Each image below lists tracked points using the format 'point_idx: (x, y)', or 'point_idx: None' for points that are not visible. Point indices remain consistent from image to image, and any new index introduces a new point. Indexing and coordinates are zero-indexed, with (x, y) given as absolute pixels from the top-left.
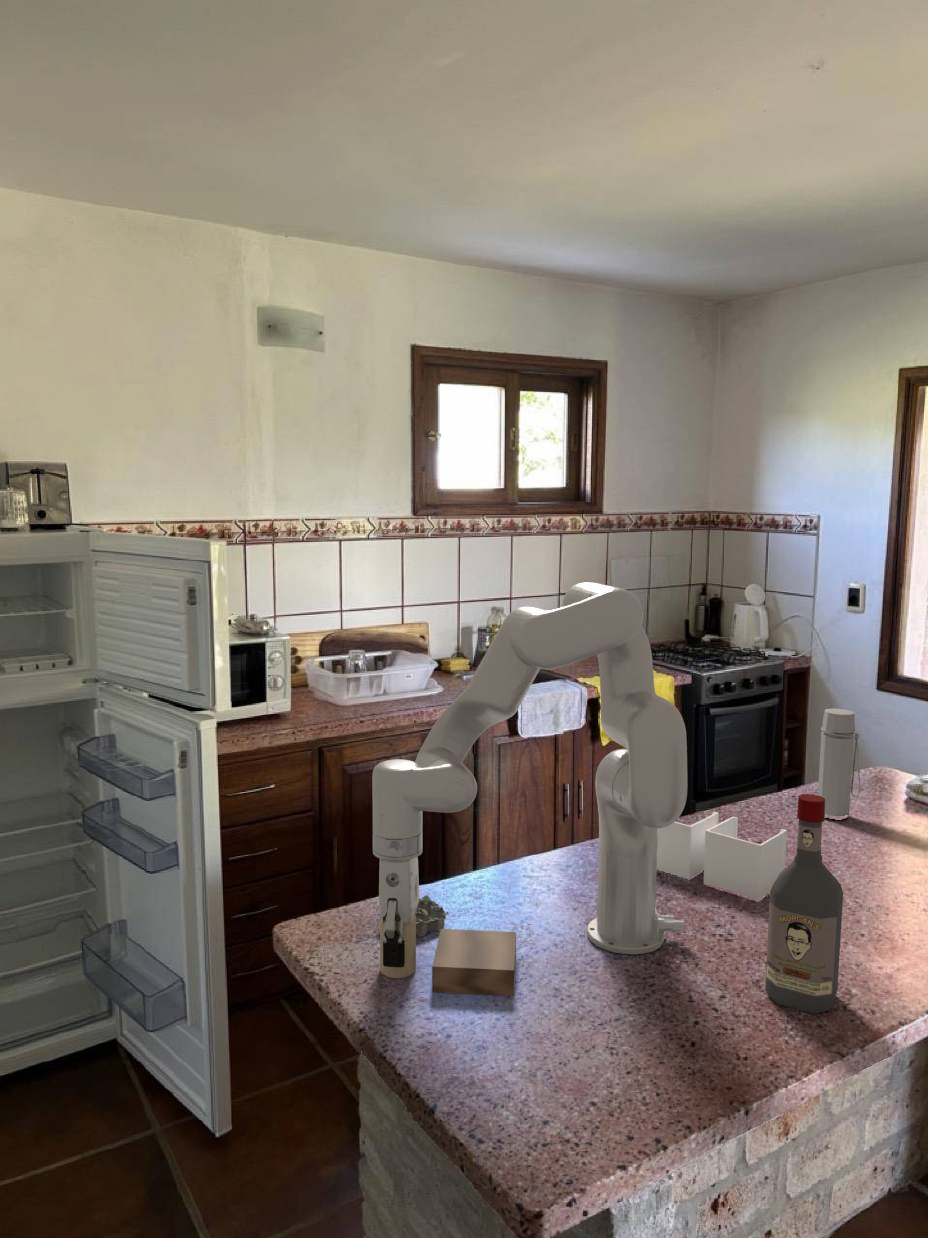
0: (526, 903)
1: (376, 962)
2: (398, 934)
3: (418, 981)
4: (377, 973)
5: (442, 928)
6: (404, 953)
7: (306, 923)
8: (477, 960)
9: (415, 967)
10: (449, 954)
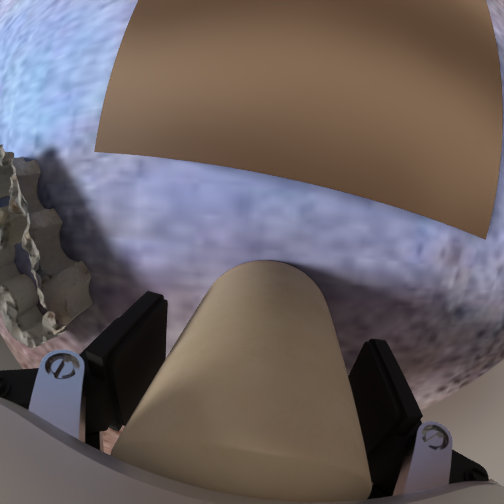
0: (11, 11)
1: None
2: (474, 473)
3: (355, 256)
4: None
5: (33, 160)
6: (396, 372)
7: None
8: (449, 25)
9: (282, 265)
10: (404, 124)
